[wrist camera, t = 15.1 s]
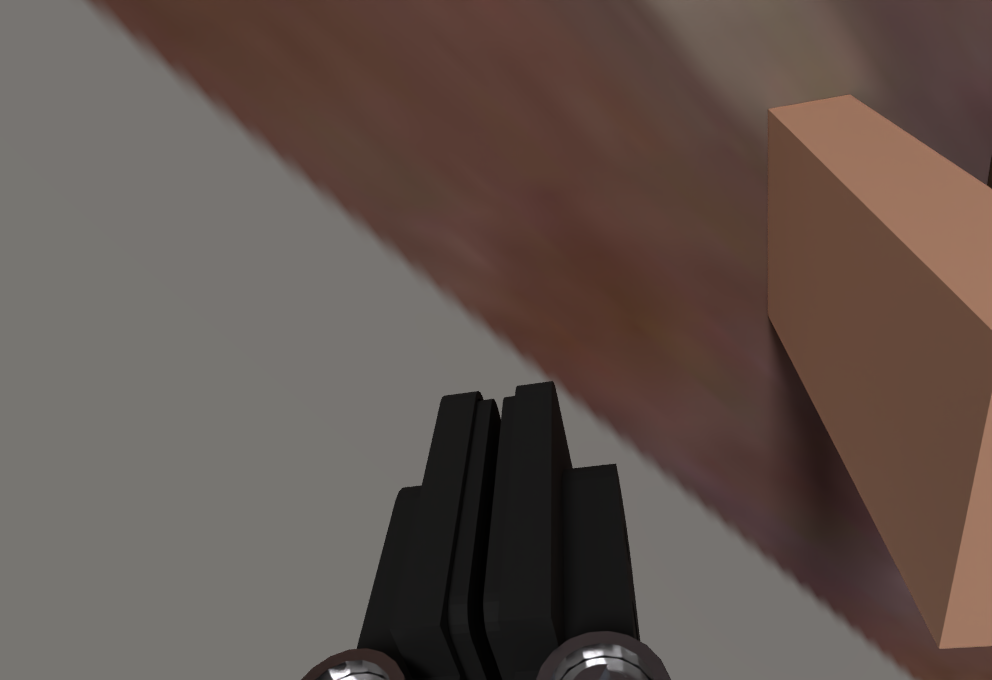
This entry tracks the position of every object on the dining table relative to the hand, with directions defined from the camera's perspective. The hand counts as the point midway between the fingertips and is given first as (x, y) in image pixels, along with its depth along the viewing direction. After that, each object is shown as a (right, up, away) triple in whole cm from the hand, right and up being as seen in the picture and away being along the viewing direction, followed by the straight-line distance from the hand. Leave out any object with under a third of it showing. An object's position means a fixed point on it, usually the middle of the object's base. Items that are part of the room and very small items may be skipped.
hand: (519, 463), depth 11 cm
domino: (+7, +5, +5) cm, 9 cm away
